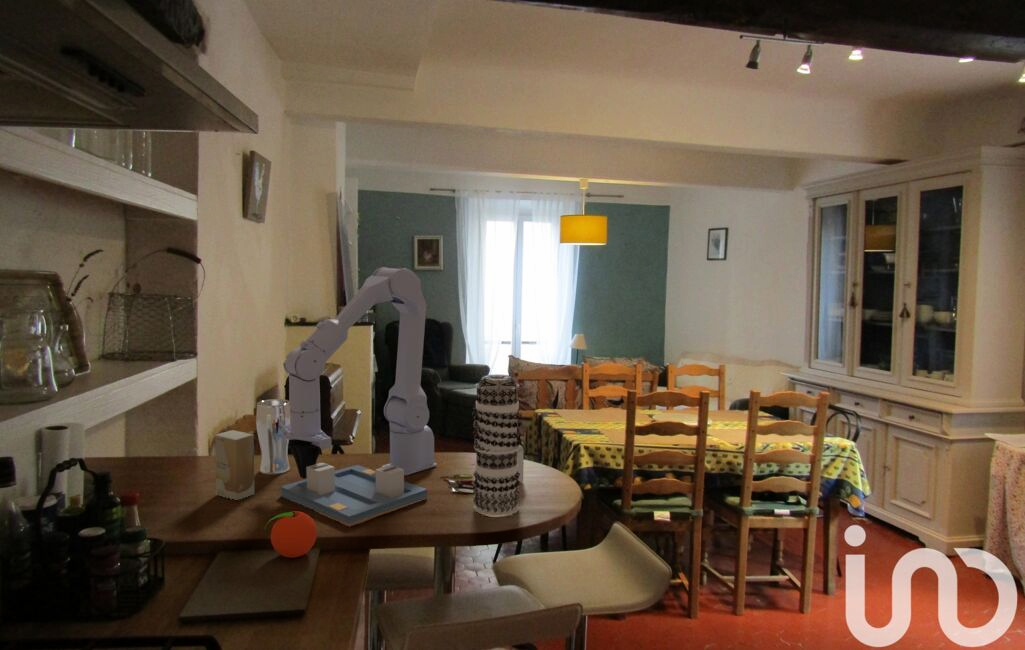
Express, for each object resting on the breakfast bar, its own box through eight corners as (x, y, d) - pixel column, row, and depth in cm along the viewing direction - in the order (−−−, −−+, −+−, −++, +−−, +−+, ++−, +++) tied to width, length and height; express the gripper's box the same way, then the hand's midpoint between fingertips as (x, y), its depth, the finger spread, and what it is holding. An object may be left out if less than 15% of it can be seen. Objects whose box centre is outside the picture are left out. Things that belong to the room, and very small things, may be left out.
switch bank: (357, 473, 145) (357, 464, 145) (427, 499, 131) (427, 488, 131) (281, 496, 131) (280, 485, 131) (349, 527, 117) (349, 515, 117)
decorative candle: (463, 513, 124) (463, 379, 121) (483, 496, 133) (484, 370, 130) (509, 521, 121) (511, 383, 118) (527, 503, 129) (529, 374, 126)
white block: (390, 488, 133) (390, 464, 132) (404, 493, 130) (403, 469, 130) (375, 493, 130) (375, 468, 129) (389, 498, 127) (389, 473, 127)
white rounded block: (523, 487, 138) (524, 430, 137) (495, 487, 138) (496, 429, 137) (523, 480, 142) (523, 424, 141) (496, 479, 142) (496, 424, 141)
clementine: (260, 567, 102) (258, 522, 102) (268, 547, 109) (267, 505, 108) (314, 564, 104) (313, 519, 103) (319, 544, 111) (318, 502, 110)
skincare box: (215, 495, 131) (212, 434, 130) (233, 489, 135) (231, 429, 134) (238, 502, 128) (236, 439, 127) (256, 494, 132) (254, 433, 131)
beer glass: (279, 463, 152) (277, 397, 150) (298, 469, 147) (297, 401, 146) (251, 471, 146) (249, 402, 144) (270, 477, 142) (268, 407, 140)
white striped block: (322, 486, 134) (322, 461, 133) (334, 490, 131) (334, 466, 131) (306, 490, 131) (306, 466, 131) (318, 495, 128) (318, 470, 128)
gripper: (266, 407, 134) (268, 473, 136) (307, 419, 125) (309, 490, 126) (298, 401, 140) (299, 465, 141) (340, 413, 130) (341, 481, 132)
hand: (306, 476), depth 134 cm, fingers closed
